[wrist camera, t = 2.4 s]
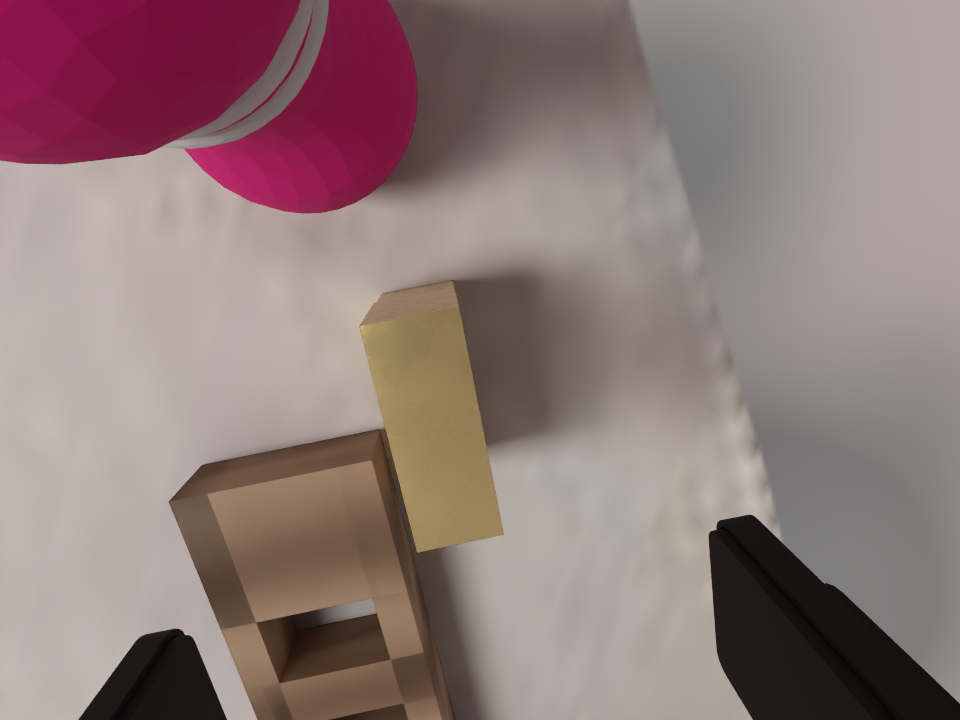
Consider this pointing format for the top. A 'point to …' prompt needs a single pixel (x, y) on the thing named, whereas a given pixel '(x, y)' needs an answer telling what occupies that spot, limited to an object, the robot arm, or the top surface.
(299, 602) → the rail
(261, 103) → the pepper mill
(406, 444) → the tan rectangular block
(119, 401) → the top surface
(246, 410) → the top surface
